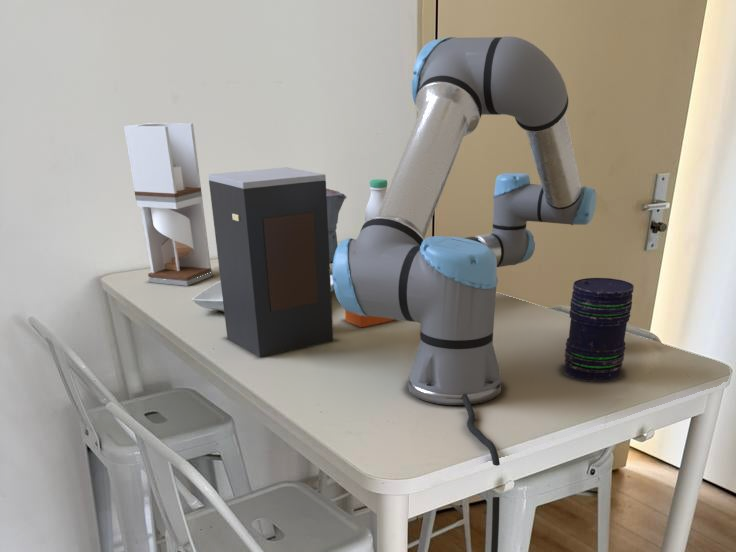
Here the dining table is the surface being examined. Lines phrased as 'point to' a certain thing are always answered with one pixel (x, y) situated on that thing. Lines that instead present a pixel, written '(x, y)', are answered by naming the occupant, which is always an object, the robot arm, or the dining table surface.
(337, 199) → the moka pot
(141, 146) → the white tall stand
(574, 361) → the dark blue cylinder
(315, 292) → the tall dark grey cabinet
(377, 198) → the milk bottle
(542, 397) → the dining table surface
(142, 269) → the dining table surface
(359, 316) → the key
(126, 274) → the dining table surface
